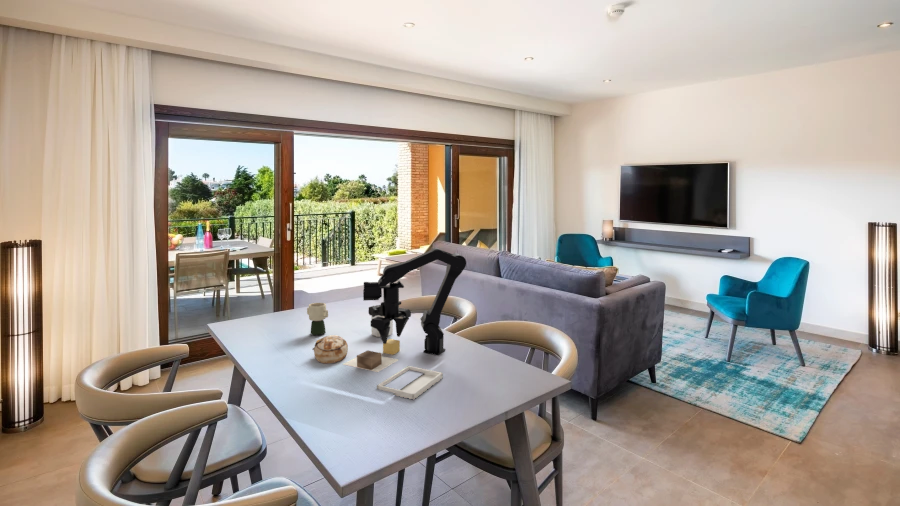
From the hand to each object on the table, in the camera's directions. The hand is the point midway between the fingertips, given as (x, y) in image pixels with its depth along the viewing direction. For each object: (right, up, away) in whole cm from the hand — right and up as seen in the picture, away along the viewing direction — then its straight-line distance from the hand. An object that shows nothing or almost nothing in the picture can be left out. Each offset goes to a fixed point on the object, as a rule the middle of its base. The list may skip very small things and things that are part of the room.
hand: (391, 339), depth 173 cm
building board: (-6, -7, -10) cm, 13 cm away
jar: (-7, -2, +24) cm, 25 cm away
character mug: (-34, -2, +24) cm, 42 cm away
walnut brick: (-6, -6, -13) cm, 16 cm away
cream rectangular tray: (+10, -9, -26) cm, 29 cm away
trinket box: (-22, -6, -4) cm, 23 cm away
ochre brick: (0, -6, +1) cm, 6 cm away
